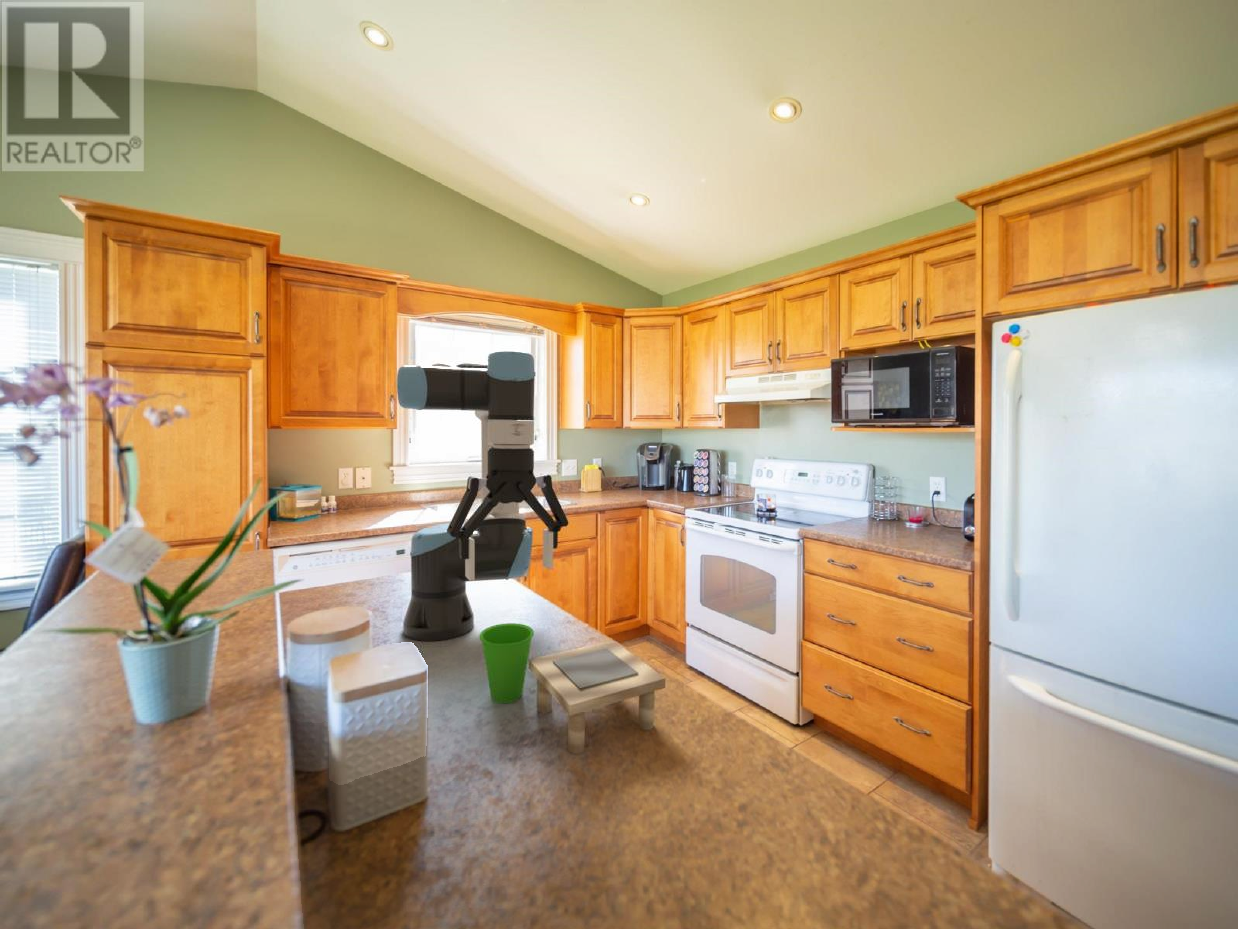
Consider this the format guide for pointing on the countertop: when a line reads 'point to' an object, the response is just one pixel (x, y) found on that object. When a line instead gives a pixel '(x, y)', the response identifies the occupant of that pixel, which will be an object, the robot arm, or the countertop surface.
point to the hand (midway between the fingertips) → (510, 572)
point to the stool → (594, 684)
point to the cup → (506, 659)
